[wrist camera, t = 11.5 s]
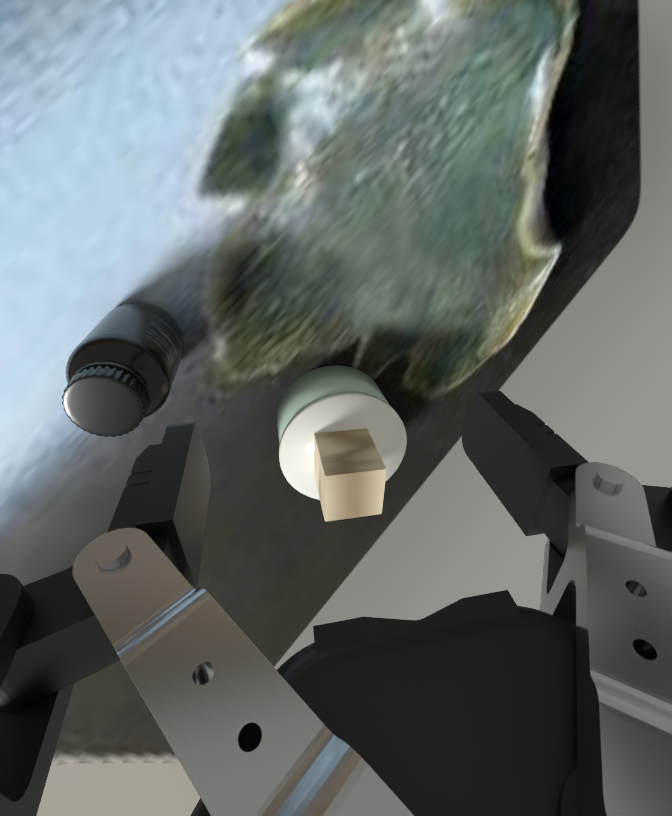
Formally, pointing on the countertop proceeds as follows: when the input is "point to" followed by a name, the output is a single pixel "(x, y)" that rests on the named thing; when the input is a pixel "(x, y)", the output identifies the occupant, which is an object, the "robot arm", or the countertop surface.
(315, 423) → the round lidded container
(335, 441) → the beech block
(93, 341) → the supplement bottle
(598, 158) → the countertop surface
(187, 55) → the countertop surface
